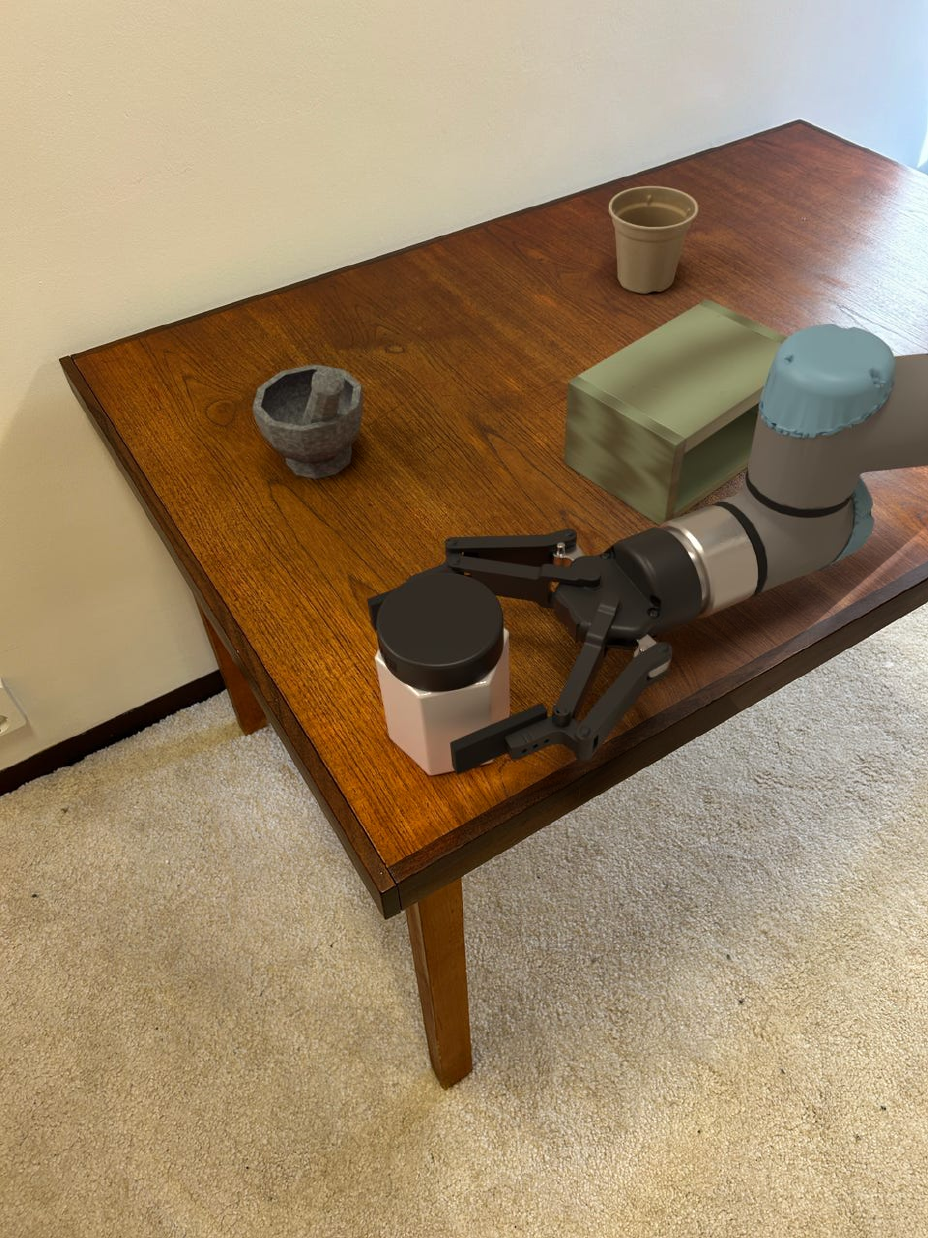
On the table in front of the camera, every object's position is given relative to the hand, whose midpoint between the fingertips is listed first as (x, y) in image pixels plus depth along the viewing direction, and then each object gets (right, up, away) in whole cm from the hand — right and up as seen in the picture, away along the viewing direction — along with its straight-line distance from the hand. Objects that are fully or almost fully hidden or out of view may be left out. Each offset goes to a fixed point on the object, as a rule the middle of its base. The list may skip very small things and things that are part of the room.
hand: (409, 682), depth 64 cm
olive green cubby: (+24, +20, +25) cm, 40 cm away
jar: (+3, -4, +6) cm, 7 cm away
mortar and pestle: (-10, +19, +26) cm, 34 cm away
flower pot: (+24, +42, +45) cm, 66 cm away
